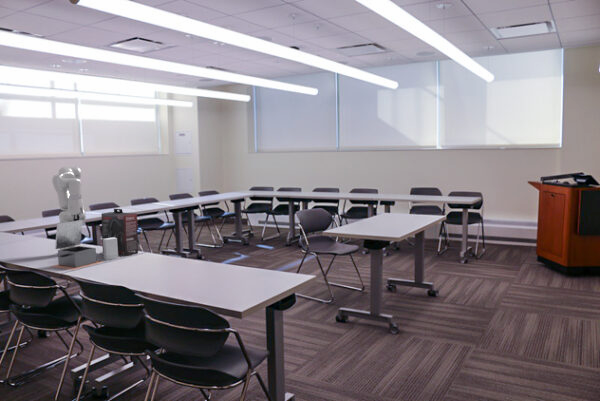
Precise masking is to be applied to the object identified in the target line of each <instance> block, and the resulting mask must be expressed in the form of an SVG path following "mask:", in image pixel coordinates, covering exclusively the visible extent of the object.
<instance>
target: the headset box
mask: <svg viewBox="0 0 600 401" xmlns="http://www.w3.org/2000/svg"><path fill="white" fill-rule="evenodd" d="M123 211H124V210H123V208H113V211H111V212H109V211H108V212H103V213H101V214H100V215H101V236H102V237H101V239H102V240H101V242H102V244H101V245H103V239H105V238H112V237H115V238H117V246H118V256H124V257H127V256H131V255H134V254H135V255H136V254H138V253H139V244H138V243H139V242H138V214H137V213H132V212H123ZM102 254H104V250H103V249H102Z"/></svg>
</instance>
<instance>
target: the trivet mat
mask: <svg viewBox="0 0 600 401" xmlns="http://www.w3.org/2000/svg"><path fill="white" fill-rule="evenodd" d="M101 263H103V261H100V260H96V263H94V264H90V265H86V266H82V267H78V268H72V267H66V266H59V263H58V264H55V265H51V266H50V267H51V268H52V267H53V268H58V269H64V270H71V271H75V270H79V269H81V268H82V269H83V268H86V267H87V268H88V267H91V266H94V265H98V264H101Z"/></svg>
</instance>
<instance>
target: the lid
mask: <svg viewBox="0 0 600 401" xmlns="http://www.w3.org/2000/svg"><path fill="white" fill-rule="evenodd" d="M83 223H84V222H83V220H76V221H70V222H63V223H60V222H57V223H56V234H55V246H54V249H55V250H60V248H65V247H70V246H75V245H76V246H81V244H82V241H81V240H82V231H83Z"/></svg>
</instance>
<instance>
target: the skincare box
mask: <svg viewBox="0 0 600 401" xmlns="http://www.w3.org/2000/svg"><path fill="white" fill-rule="evenodd" d="M103 250H104V253H103V260H105V261H108V260H116V259H119V255H118V246H117V238H115V237H112V238H105V239H103V244H102V251H103Z"/></svg>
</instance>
